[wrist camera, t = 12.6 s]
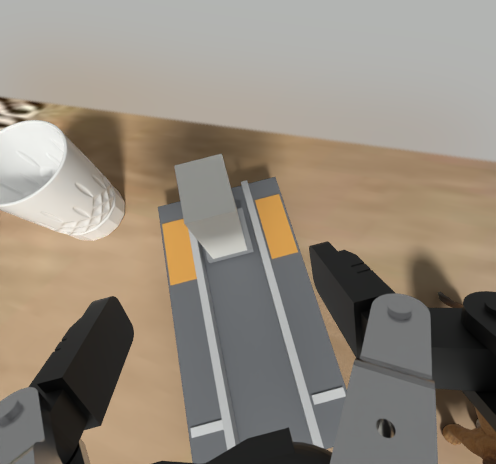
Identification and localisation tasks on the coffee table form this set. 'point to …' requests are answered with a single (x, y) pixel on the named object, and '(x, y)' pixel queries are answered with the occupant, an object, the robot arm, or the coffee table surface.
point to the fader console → (250, 333)
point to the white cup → (55, 183)
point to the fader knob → (212, 208)
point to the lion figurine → (484, 436)
